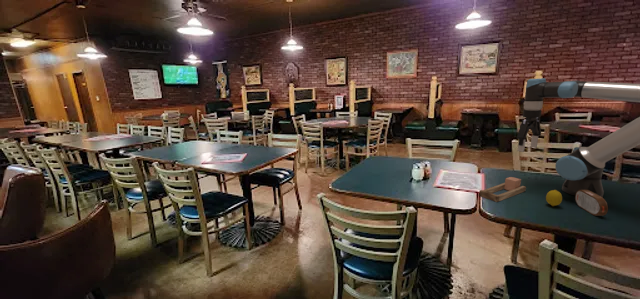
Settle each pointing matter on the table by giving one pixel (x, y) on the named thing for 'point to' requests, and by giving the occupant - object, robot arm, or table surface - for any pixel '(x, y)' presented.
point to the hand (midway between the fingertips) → (527, 149)
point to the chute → (489, 194)
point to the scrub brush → (591, 202)
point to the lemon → (554, 197)
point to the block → (512, 183)
